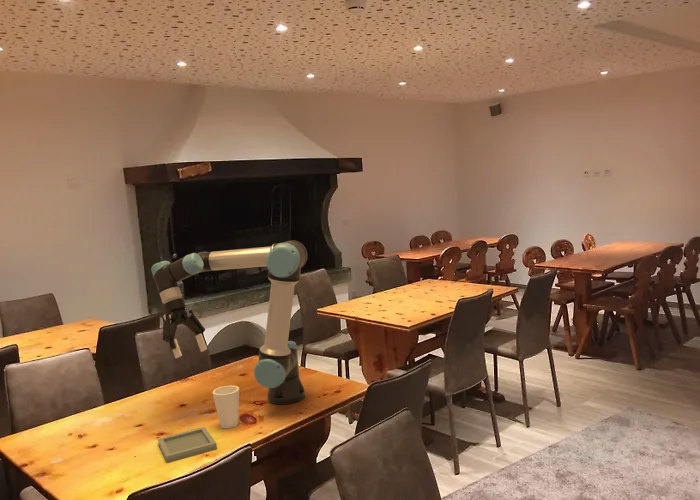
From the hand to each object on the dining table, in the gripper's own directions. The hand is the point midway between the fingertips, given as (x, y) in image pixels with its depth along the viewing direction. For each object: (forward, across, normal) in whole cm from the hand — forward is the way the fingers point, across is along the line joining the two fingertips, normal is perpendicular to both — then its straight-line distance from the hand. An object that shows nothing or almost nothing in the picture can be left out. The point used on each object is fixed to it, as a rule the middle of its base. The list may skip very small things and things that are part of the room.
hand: (191, 353), depth 212 cm
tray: (+30, +17, 0) cm, 35 cm away
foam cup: (+29, -2, +4) cm, 30 cm away
